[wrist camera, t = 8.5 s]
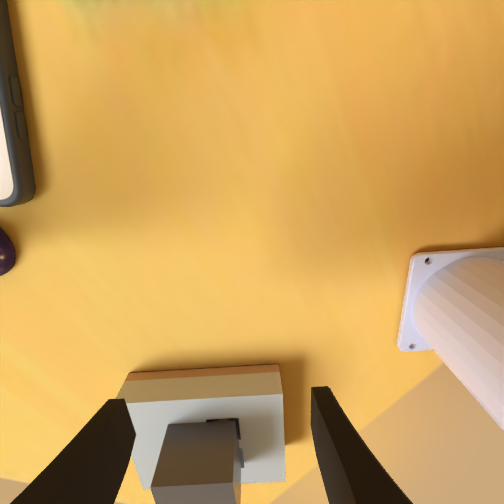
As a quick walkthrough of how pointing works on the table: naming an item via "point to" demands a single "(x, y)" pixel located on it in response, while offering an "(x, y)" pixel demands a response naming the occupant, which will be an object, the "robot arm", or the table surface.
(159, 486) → the plug
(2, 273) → the toy lamp
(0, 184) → the phone case
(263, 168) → the table surface
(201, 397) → the socket
